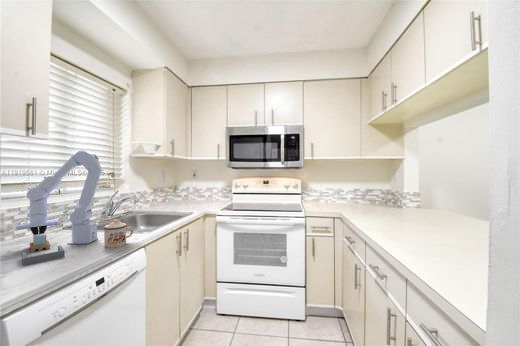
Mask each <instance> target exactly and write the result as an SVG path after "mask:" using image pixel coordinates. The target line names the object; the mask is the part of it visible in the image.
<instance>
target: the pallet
mask: <svg viewBox="0 0 520 346" xmlns="http://www.w3.org/2000/svg"><path fill="white" fill-rule="evenodd" d="M29 247H30V252H31V253H34V252H36V250H38V252H40V251H41V252H42V251H43V249H45V250H50V247H51V244H50V242H49V240H48V239H46V244H42V245H36V246H34V245H33V242H29Z"/></svg>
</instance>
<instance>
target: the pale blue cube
mask: <svg viewBox="0 0 520 346" xmlns="http://www.w3.org/2000/svg"><path fill="white" fill-rule="evenodd" d="M32 238H33V239H32V241H33V245H34V246H36V245H42V244H46V240H47V233H46V232H45V233H43V234H39V233H38V234H36V235H34V234H33V235H32Z"/></svg>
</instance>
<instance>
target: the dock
mask: <svg viewBox="0 0 520 346" xmlns="http://www.w3.org/2000/svg"><path fill="white" fill-rule="evenodd" d="M65 251H66V250H65V249H64V248H63V246H62V245H60V244H59V245H57V250H56V251H50V252H45V253H41V254H35V255H30V256H28V255H27V251H23V252H22V259H21V260H22V265H23V266H27V265H31V264H36V263H40V262H46V261H49V260H50V261H51V260H55V259H59V258H64V257H65V254H66V252H65Z"/></svg>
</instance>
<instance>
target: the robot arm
mask: <svg viewBox="0 0 520 346" xmlns="http://www.w3.org/2000/svg"><path fill="white" fill-rule="evenodd" d="M77 167H84V169H86V170H87V175H86V178H85V182H84V184H83V188H82V191H81V194H80V197H79V200H78V203H77V205H75V207H74V210H73V211H72V213H70V215H69V221H70V223H71V241H68V242H67V243H66V244H67V245H73V244H74V245H77V244H78V245H79V244H83V245H84V244H85V245H86V244H89V243H92V242H94V241H96V240H98V239H99V238H98V225H97V224H96V223H94V222H91V218H92V217H93V212H92V210H93V205H92V204H93V199H94V197H95V194H96V191H97V187H98V185H99V184H98V183H99V182H100V181H99V180H100V177H101V174H102V172H103V170H102V166H101V163H100V159H99V157H98V155H96V154H95V152H91V151H87V150H84V149H83V150H82V149H81V150H78V151H76V153H75V154H73V155H72V156H70V158H69V159H68V160H67V161H66V162H65V163H63V165H62V166H61V167H60V168H59V169H58V170H57V171H56V172H55V173H54V174H49V175H45V176H43V179H42V181H41V182H39V183H38V184H37V183H36V185H35V187H32V188H30V189H28V191H27V192H26V197H27V198H28V200H29V222H28V223H23V224H17V225H15V231H22V230H28V229H30V231H31V233H32V234H33V235H36V234H43V233H46V231H47V229H48V227H50V226H51V227H52V226H59V225H61V222H60V220H59V219H58V220H48V198H49V197H50V195H51V193H52V192H53V191H54V190H55V189H56V188H57V187H58V186H59V185H60V184H62V179H63V178H65V176H67V174H69V173H70V172H71V171H72V170H73V169H75V168H77Z"/></svg>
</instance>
